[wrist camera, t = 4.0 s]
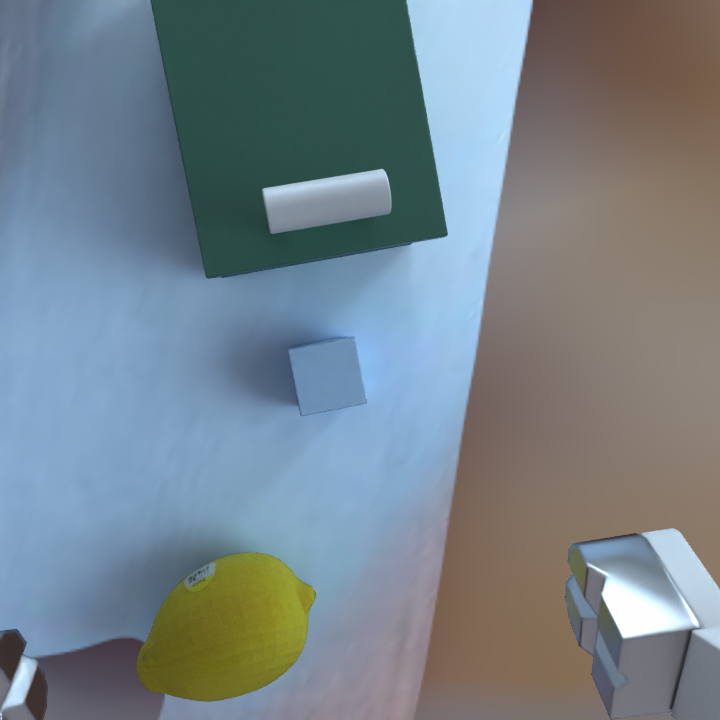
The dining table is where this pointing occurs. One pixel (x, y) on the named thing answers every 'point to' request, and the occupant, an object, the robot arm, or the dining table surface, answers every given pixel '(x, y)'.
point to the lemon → (227, 629)
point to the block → (327, 375)
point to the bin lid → (299, 128)
